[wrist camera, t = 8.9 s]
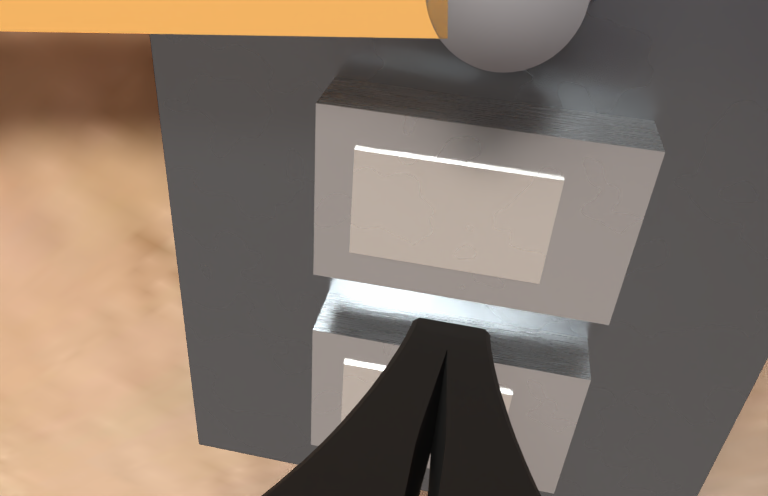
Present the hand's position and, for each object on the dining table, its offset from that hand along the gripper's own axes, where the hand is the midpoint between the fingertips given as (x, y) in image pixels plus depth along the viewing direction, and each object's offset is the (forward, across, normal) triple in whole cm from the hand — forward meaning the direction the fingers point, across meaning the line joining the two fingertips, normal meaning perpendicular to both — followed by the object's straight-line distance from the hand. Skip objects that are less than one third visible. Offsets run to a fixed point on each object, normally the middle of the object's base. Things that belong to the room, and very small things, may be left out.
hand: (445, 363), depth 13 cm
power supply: (+8, 0, 0) cm, 8 cm away
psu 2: (+8, 0, +7) cm, 11 cm away
